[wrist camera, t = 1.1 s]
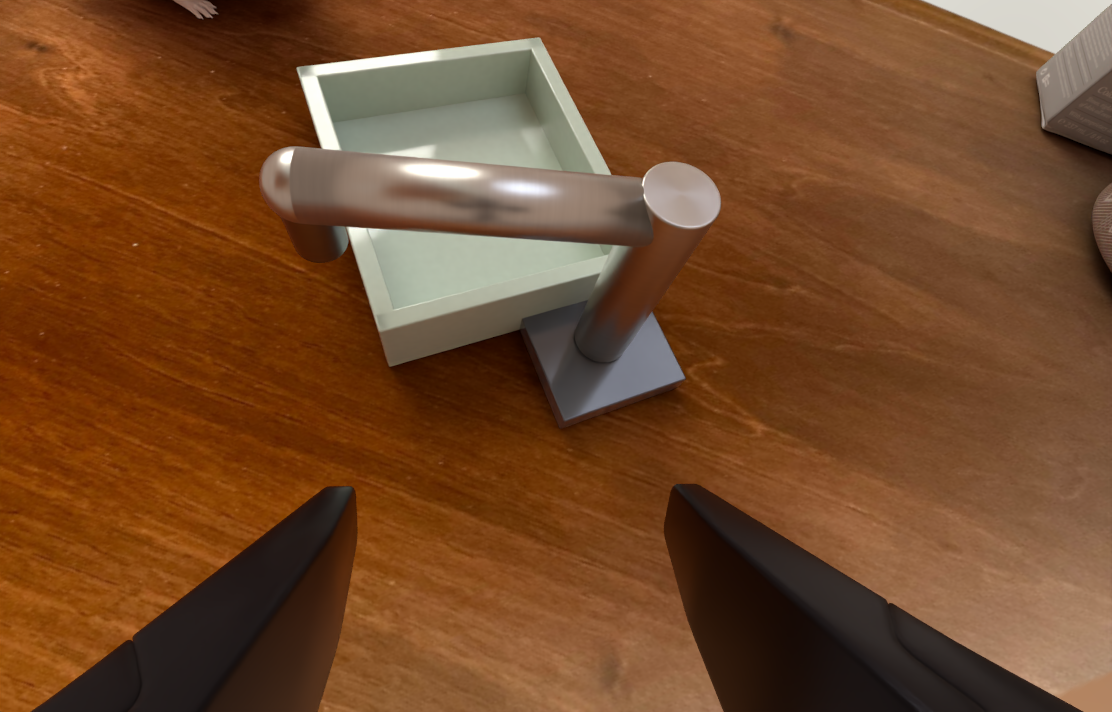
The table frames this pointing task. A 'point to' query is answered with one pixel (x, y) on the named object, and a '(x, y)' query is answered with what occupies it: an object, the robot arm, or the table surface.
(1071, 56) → the cosmetic box
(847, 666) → the robot arm
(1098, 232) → the planter
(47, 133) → the table surface
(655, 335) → the sink
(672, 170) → the faucet
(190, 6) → the figurine
